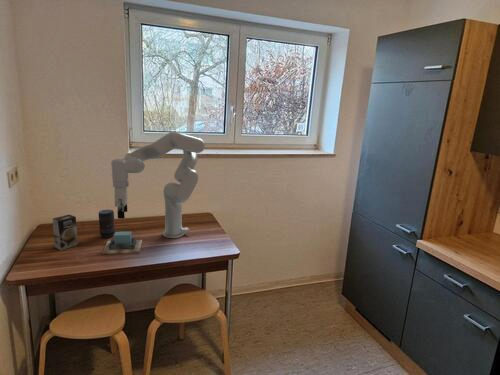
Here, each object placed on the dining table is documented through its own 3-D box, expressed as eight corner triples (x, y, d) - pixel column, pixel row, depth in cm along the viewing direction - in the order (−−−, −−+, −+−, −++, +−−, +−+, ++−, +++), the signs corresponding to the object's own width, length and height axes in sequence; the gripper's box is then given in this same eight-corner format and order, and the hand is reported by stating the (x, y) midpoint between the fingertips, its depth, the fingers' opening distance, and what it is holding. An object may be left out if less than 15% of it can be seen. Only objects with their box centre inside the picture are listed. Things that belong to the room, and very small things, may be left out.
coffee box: (61, 250, 169) (58, 221, 165) (54, 247, 173) (51, 218, 169) (78, 244, 177) (76, 216, 173) (71, 241, 180) (69, 213, 176)
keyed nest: (142, 241, 186) (142, 235, 185) (139, 252, 172) (139, 246, 172) (108, 242, 182) (107, 236, 181) (102, 253, 169) (102, 247, 168)
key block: (116, 243, 179) (115, 231, 177) (131, 243, 180) (131, 231, 178) (114, 247, 174) (114, 235, 172) (130, 247, 176) (130, 235, 174)
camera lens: (117, 234, 194) (116, 209, 190) (110, 239, 186) (109, 214, 182) (104, 232, 194) (103, 208, 190) (97, 238, 186) (95, 213, 183)
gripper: (116, 179, 176) (118, 209, 180) (109, 188, 159) (112, 221, 164) (130, 179, 177) (132, 209, 182) (125, 187, 161) (127, 220, 165)
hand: (122, 214), depth 173 cm, fingers open, 9 cm apart
